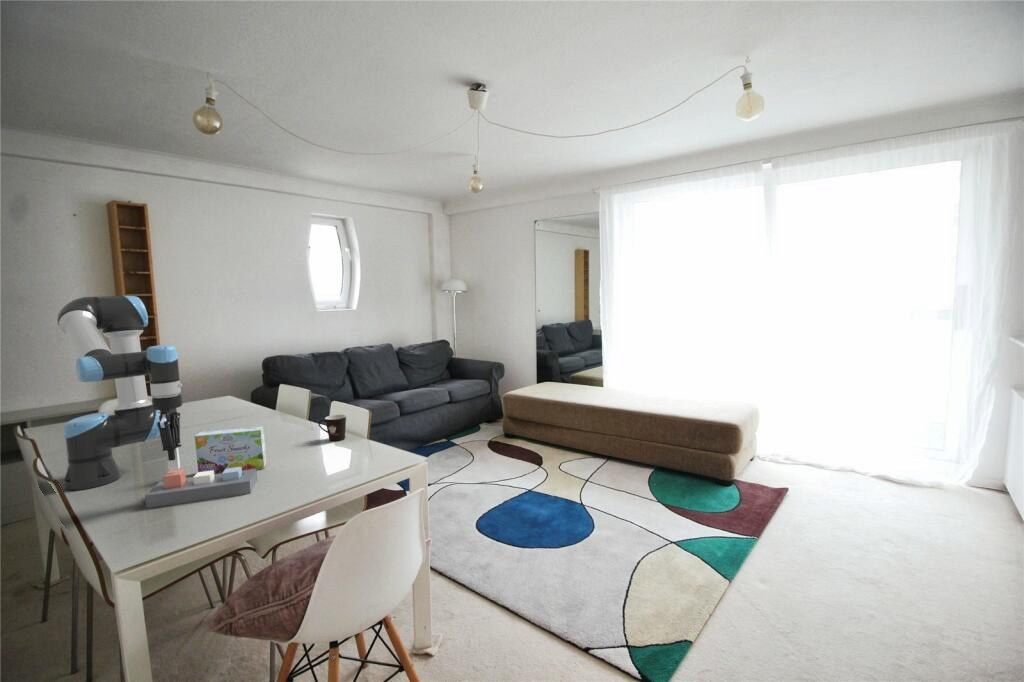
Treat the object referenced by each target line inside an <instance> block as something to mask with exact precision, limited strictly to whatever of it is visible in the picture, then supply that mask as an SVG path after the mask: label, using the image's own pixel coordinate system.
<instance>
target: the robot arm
mask: <svg viewBox="0 0 1024 682" xmlns="http://www.w3.org/2000/svg"><path fill="white" fill-rule="evenodd" d="M56 320H57V324H58V328H59V329H60V330H61V331H62V332H63V334H66V335H67V336H68V338H69V339H70V342H71V344H72V346H73V348H74V349H75V351H76V353H77V356H78V358H77V359H76V360H75V370H76V375H77V378H78V380H79V381H80V382H81V383H92V382H95V383H98V382H102V381H110V380H114V381H115V382H114V383H115V388H116V396H117V403H118V404H117V406H115V407H114V409H113V412H114V414H112V415H109V414H108V413H107V412H104V411H103V412H102V411H100V412H95V413H89V414H85V415H82V416H79V417H76V418H72V419H71V420H69V421H67V422H66V423H65V425H64V428H63V430H64V431H63V432H64V434H63V435H64V436H63V438H64V439H65V446H66V447H65V448H66V456H67V464H68V466H67V469H66V471H65V472H66V473H65V476H64V479H63V487H64V489H65V490H66V491H80V490H86V489H87V490H88V489H93V488H97V487H101V486H104V485H107V484H110V483H113V482H115V481H117V480H119V479H120V478H121V477H122V472H121V471H122V470H121V469H120V467H119V465H118V463H117V462H116V460H115V458H114V457H113V451H112V449H114V448H119V447H125V446H128V445H134V444H138V443H139V444H140V443H145V442H147V441H151V440H155V439H157V438H158V437H160V441H161V445H162V452H166V459H167V467H168V471H176V470H180V468H181V463H180V453H179V448H180V447H182V444H180V443H181V425H180V424H181V423H180V421H181V413H180V412H178V411H177V409H178V408H180V407H182V406H183V397H182V394H181V392H182V391H181V390H182V389H181V387H182V386H183V384H182V383H181V379H180V370H179V368H180V367H179V355H178V351H177V347H176V346H175V345H172V344H171V345H170V344H169V345H168V344H165V345H164V344H163V345H162V344H161V345H154V346H152V345H151V346H148V347H147V348H146V350H142V347H141V342H140V341H141V340H140V336H141V334H143V332H144V328H145V327H147V326H148V324H149V316H148V312H147V309H146V306H145V304H144V303H143V301H142V299H141V298H140V297H138V296H134V295H108V296H107V295H106V296H105V295H104V296H103V295H102V296H100V295H99V296H81V297H79V298H75V299H73V300H71V301H69V302H68V303H66V304H65V305H64V306H63V307H62V308H61V309H60V310H59V312H58V315H57V319H56ZM99 330H102V334H103V335H102V334H101V332H100V331H99ZM103 336H104V337H107V338H108V340H109V346H110V348H109V346H108V344H107V343H106V340H105V338H104V337H103ZM145 376H149V386H150V396H152V398H151V401H150V400H149V399H148V397H149V396H148V390H147V385H146V384H147V383H146V377H145Z"/></svg>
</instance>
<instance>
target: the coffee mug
mask: <svg viewBox="0 0 1024 682" xmlns="http://www.w3.org/2000/svg"><path fill="white" fill-rule="evenodd" d="M321 422H325V426H326V429H325V428H323V427H322V426H321ZM346 423H347V415H346V414H333V415H328V416H326V417H325V418H324V419H320V420H319V421H318V427H319V428H320V429H321V430H322V431H324V432H325V433H327V436H328V440H329V442H334V443H335V442H336V443H337V442H341V441H344V440H346Z"/></svg>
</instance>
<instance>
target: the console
mask: <svg viewBox="0 0 1024 682" xmlns="http://www.w3.org/2000/svg"><path fill="white" fill-rule="evenodd" d="M257 471H258V470H257V469H250V470H242V477H241V479H237V480H230V481H223V477H222V473H219V474H214V477H215V479H214V481H213V482H212V483H208V484H200V485H194V480H193V477H194V476H191V477H186V484H185V485H184V486H183V487H178V488H171V489H164V483H163V480H160V481H159V482H158V483H156V485H155V486H153V487H152V489H150V490H149V491H148V492H147V493H146V494H145V505H146V509H153V508H158V506H160V507H165V506H166V505H167V506H174V505H179V504H180V505H181V504H185V503H186V504H187V503H193V502H199V501H206V500H207V501H208V500H214V499H215V500H216V499H219V498H229V497H234V496H240V495H248V494H251V493H253V489H254V487H255V486H256V483H257V481H258V472H257ZM167 506H166V507H167Z"/></svg>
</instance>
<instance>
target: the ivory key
mask: <svg viewBox="0 0 1024 682" xmlns="http://www.w3.org/2000/svg"><path fill="white" fill-rule="evenodd" d="M192 477H193V480H194V485H200V484H208V483H212V482H213V481H214V479H215V477H214V470H211V471H204V472H198V471H197V472H196V474H195V475H194V476H192Z"/></svg>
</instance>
